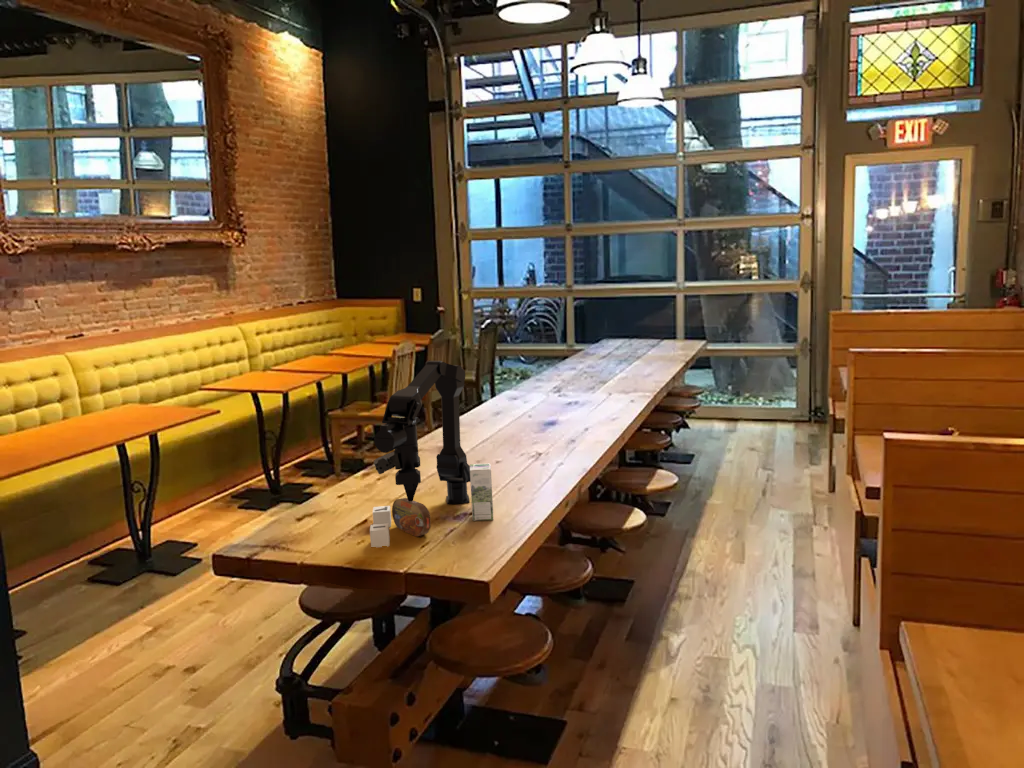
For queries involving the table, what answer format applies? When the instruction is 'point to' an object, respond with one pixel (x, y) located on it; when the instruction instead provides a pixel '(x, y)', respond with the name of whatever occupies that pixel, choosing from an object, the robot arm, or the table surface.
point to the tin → (411, 516)
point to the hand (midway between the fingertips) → (410, 500)
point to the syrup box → (481, 492)
